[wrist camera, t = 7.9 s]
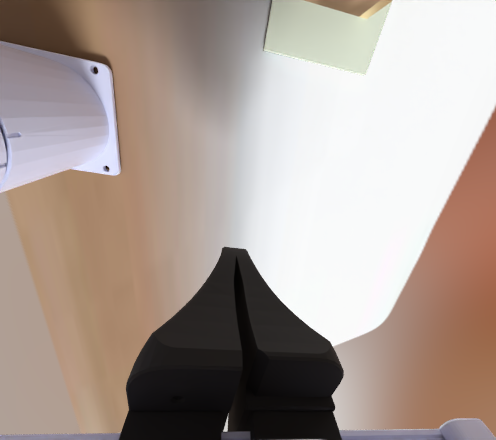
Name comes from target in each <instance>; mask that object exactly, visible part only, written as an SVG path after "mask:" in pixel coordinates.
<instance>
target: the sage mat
mask: <svg viewBox="0 0 496 440" xmlns="http://www.w3.org/2000/svg"><path fill="white" fill-rule="evenodd" d="M391 3H392V1H391V2H390V3H389V4H388V5H386V6H385V7H383V8H382V9H380V10H379V11H378V12H376V13H375V14H373V15H372V16H370V17H369V18H368V19H365V18H361V17H358V16H355V15H351V14H348V13H345V12H341V11H338V10H334V9H331V8H328V7H324V6H321V5H318V4H314V3H311V2H307V1H304V0H272V4H271V10H270V16H269V21H268V27H267V33H266V39H265V45H264V50H263V51H267V52H271V53H275V54H279V55H283V56H287V57H291V58H295V59H299V60H303V61H307V62H311V63H315V64H319V65H323V66H327V67H331V68H335V69H339V70H342V71H346V72H350V73H354V74H358V75H362V76H363V75H366V72H367V69H368V67H369V64H370V61H371V58H372V56H373V53H374V50H375V47H376V44H377V42H378V39H379V36H380V33H381V31H382V28H383V25H384V22H385V20H386V17H387V14H388V11H389V8H390V6H391Z"/></svg>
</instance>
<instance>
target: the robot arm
mask: <svg viewBox="0 0 496 440" xmlns="http://www.w3.org/2000/svg"><path fill="white" fill-rule="evenodd" d="M95 66H96V67H97V68H98V74H95V73H94V67H95ZM106 166H108V167H109V169H110V170H109V171H108V170H107V169H106ZM68 169H75V170H81V171H88V172H95V173H101V174H108V175H117V174H119V173H120V172H121V166H120V155H119V144H118V133H117V121H116V110H115V99H114V88H113V77H112V71H111V69H110V68H109V67H108V66H107V65H105V64H103V63H99V62H94V61H90V60H85V59H81V58H76V57H72V56H67V55H62V54H58V53H53V52H49V51H44V50H40V49H35V48H30V47H26V46H21V45H17V44H12V43H8V42H3V41H0V193H1V192H4V191H7V190H10V189H13V188H16V187H19V186H22V185H24V184H27V183H30V182H33V181H36V180H39V179H42V178H45V177H48V176H50V175H53V174H56V173H59V172H62V171H65V170H68ZM342 378H343V368H342V366H341V364H340V361H339V359H338V357H337V355H336V352H335V350H334V349H333V347H332V345H331V343H330V341H328V340H327V339H325V338H324V337H323V336H321V335H320V334H318V333H317V332H316V331H314V330H313V329H312V328H310V327H309V326H308V325H307V324H305V323H304V322H303V321H302V320H301V319H299V318H298V317H297V316H296V315H295V314H294V313H293V312H292V311H290V310H289V309H288V308H287V307H286V306H285V305H284V304H283V303H282V302H281V301H280V300H279V298H278V297H277V296H276V295H275V294H274V293H273V291H272V290H271V289H270V288H269V286H268V285H267V284H266V282H265V281H264V279H263V278H262V276H261V275H260V273H259V272H258V270H257V269H256V267H255V265H254V263H253V262H252V260H251V258H250V256H249V254H248V252H247V250H246V249H238V248H230V247H224V248H222V253H221V256H220V258H219V260H218V262H217V264H216V266H215V268H214V270H213V271H212V273H211V274H210V276H209V278H208V279H207V280H206V282H205V283H204V285H203V286H202V287H201V288H200V290H199V291H198V292H197V293H196V294H195V295H194V297H193V298H192V299H191V300H190V301H189V302H188V303H187V304H186V305H185V306H184V307H183V308H182V309H181V310H180V311H179V312H178V313H176V314H175V315H174V316H173V317H172V318H171V319H170V320H169V321H167V322H166V323H165V324H163V325H162V326H161V327H160V328H158V329H157V330H156V331H155V332H153V333H152V335H151V336H150V337H149V339H148V341H147V342H146V344H145V345H144V347H143V348H142V350H141V352H140V354H139V356H138V357H137V359H136V361H135V363H134V366H133V368H132V371H131V373H130V376H129V378H128V381H127V385H126V392H127V399H128V406H129V411H128V414H127V417H126V420H125V423H124V426H123V429H122V432H121V433H97V434H29V435H28V434H26V435H25V434H23V435H0V440H496V438H495V436H494V435H493V434H492V433H491V432H490V430H489V429H488V428H487V427H486V425H485V424H484V423H483V422H482V420H480V419H478V418H477V419H475V418H466V419H465V418H462V419H452V420H449V421H447V422H445V423H444V424H442V426H440V429H392V430H339V429H338V426H337V423H336V420H335V417H334V414H333V411H334V410H335V405H334V402H333V399H332V396H331V395H332V394H333V393H334V391H335V390H336V388H337V387H338V385H339V384H340V382H341V380H342ZM228 413H229V414H228ZM227 416H228V432H223V430H224V426H225V422H226V419H227Z"/></svg>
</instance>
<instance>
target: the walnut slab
mask: <svg viewBox="0 0 496 440" xmlns="http://www.w3.org/2000/svg"><path fill="white" fill-rule="evenodd" d="M304 1H307V2H311V3H314V4H318V5H321V6H324V7H328V8H331V9H334V10H338V11H341V12H345V13H348V14H351V15H355V16H358V17H361V18H365V19H368V18H369V17H370V16H372V15H373V14H375V13H376V12H378V11H379V10H380V9H382V8H383V7H385V6H386V5H388V4H389V3H390V2H391V1H392V0H304Z"/></svg>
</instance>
